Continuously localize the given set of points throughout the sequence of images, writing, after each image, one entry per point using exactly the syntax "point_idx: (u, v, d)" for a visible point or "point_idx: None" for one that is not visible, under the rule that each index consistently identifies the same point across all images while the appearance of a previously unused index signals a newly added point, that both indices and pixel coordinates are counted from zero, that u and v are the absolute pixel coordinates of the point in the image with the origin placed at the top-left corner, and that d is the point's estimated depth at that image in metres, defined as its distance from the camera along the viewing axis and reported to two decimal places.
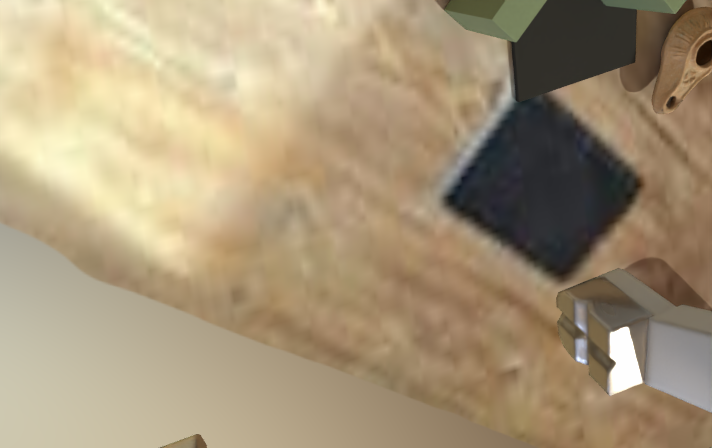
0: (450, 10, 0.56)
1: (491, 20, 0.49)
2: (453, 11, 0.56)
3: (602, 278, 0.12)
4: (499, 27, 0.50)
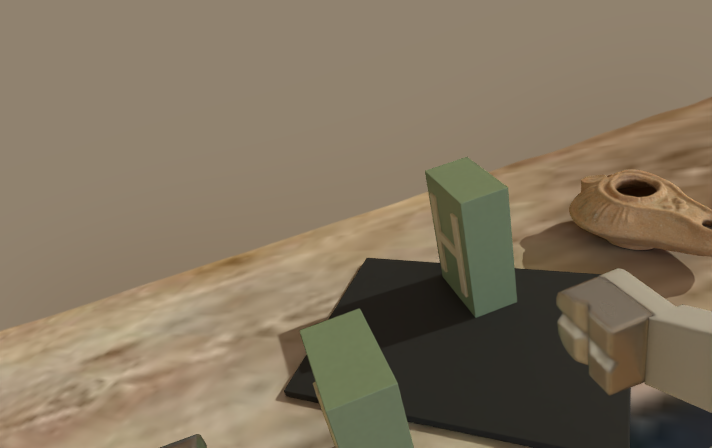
0: None
1: (329, 414, 0.25)
2: None
3: (602, 278, 0.12)
4: (351, 404, 0.25)
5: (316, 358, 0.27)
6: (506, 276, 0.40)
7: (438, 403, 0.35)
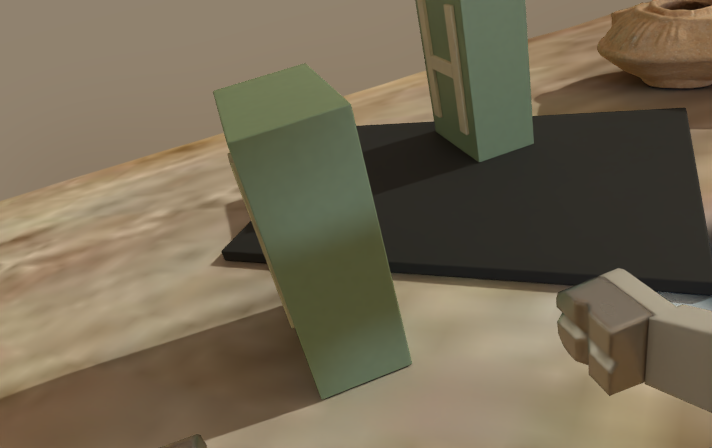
0: None
1: (235, 149, 0.15)
2: (306, 355, 0.18)
3: (602, 278, 0.12)
4: (272, 134, 0.15)
5: (230, 105, 0.17)
6: (520, 101, 0.30)
7: (427, 245, 0.25)
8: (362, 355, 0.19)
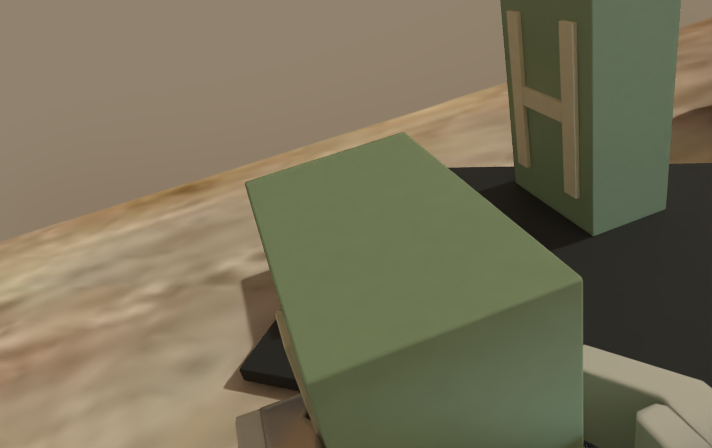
0: None
1: (321, 394, 0.06)
2: None
3: None
4: (406, 355, 0.06)
5: (284, 231, 0.09)
6: (655, 155, 0.21)
7: None
8: None
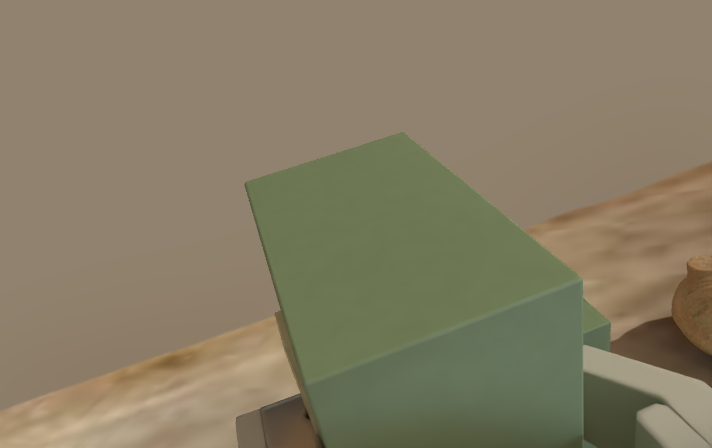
0: None
1: (321, 395, 0.06)
2: None
3: None
4: (406, 356, 0.06)
5: (284, 232, 0.09)
6: None
7: None
8: None
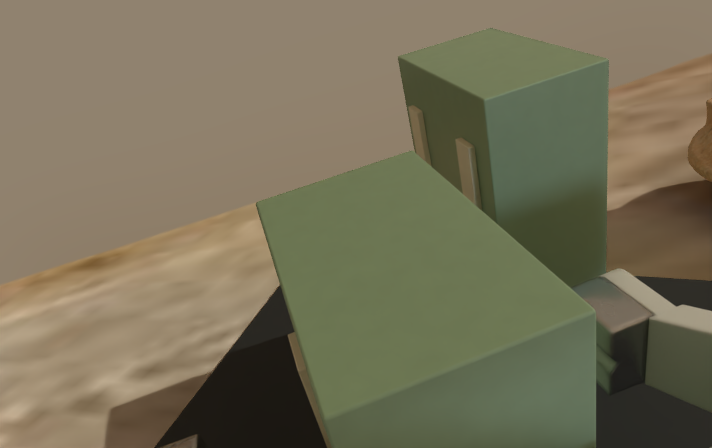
0: None
1: (339, 428, 0.06)
2: None
3: (602, 278, 0.12)
4: (422, 389, 0.06)
5: (297, 256, 0.09)
6: None
7: None
8: None
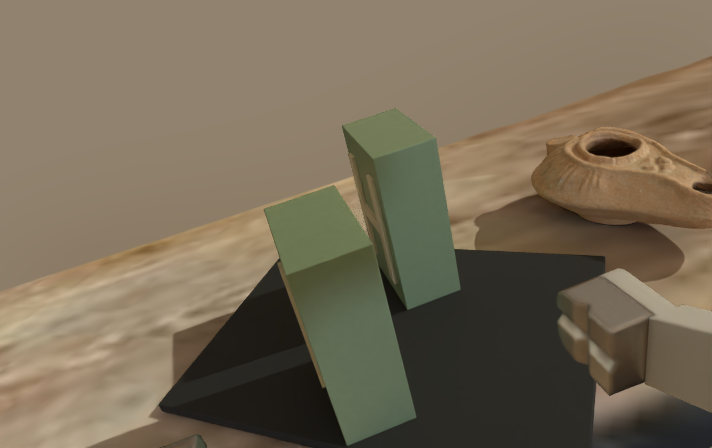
0: (339, 424, 0.25)
1: (291, 278, 0.21)
2: (336, 414, 0.24)
3: (602, 278, 0.12)
4: (317, 267, 0.21)
5: (280, 230, 0.23)
6: (443, 256, 0.32)
7: None
8: (378, 412, 0.25)
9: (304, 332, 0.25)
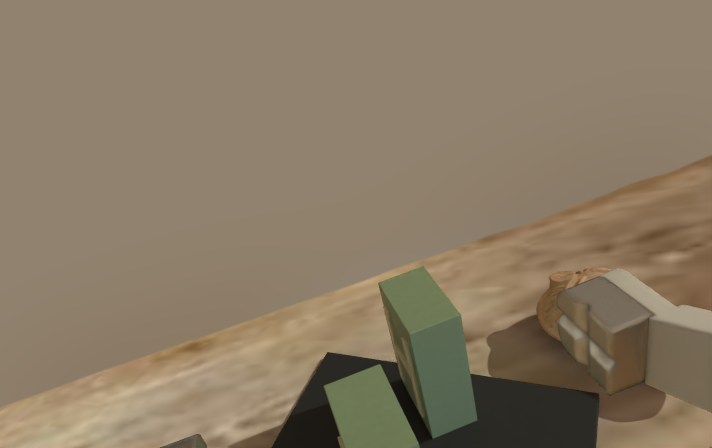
0: None
1: None
2: None
3: (602, 278, 0.12)
4: None
5: (341, 415, 0.29)
6: (464, 397, 0.38)
7: None
8: None
9: None
